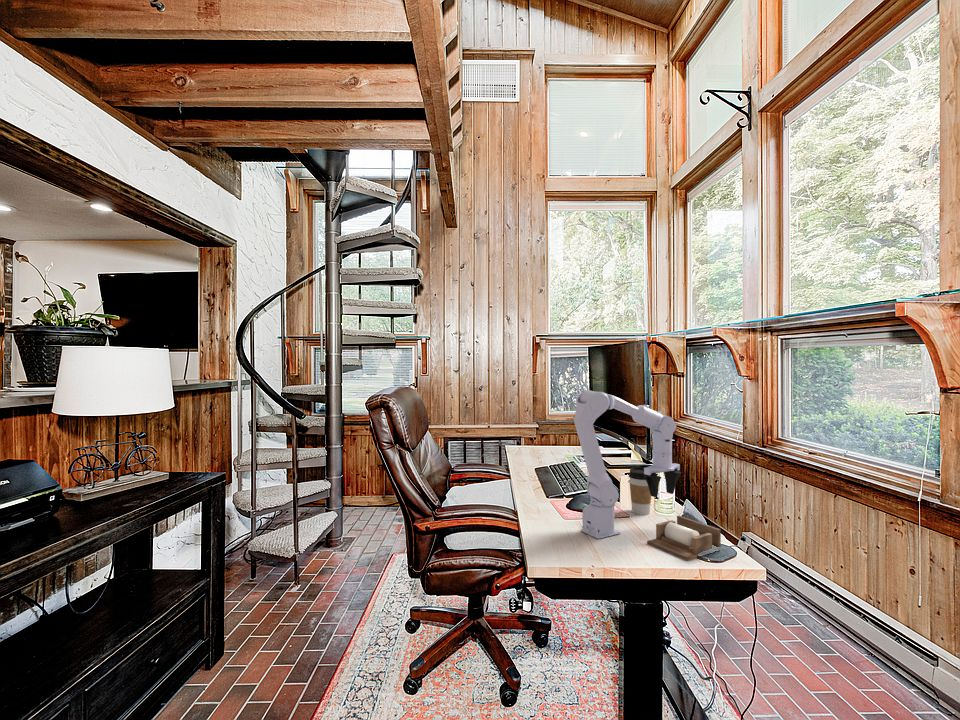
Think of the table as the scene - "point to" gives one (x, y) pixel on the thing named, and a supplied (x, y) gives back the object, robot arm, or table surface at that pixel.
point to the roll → (680, 533)
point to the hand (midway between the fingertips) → (662, 494)
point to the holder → (699, 543)
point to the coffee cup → (639, 491)
